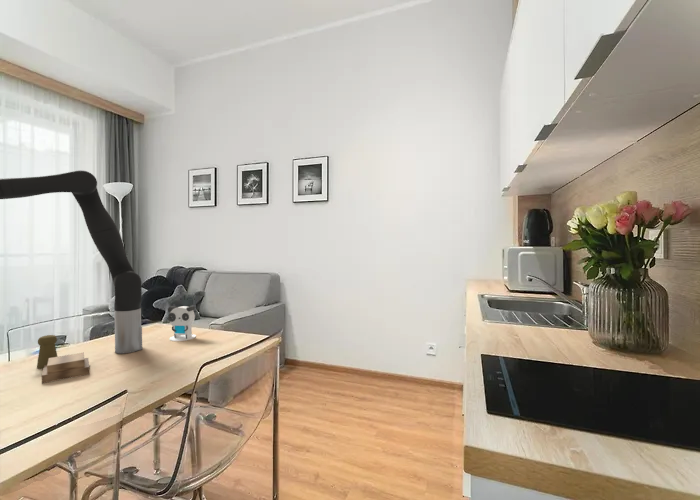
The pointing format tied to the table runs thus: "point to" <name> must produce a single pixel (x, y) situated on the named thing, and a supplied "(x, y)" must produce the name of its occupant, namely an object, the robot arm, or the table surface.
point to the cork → (46, 350)
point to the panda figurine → (181, 322)
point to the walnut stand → (65, 367)
